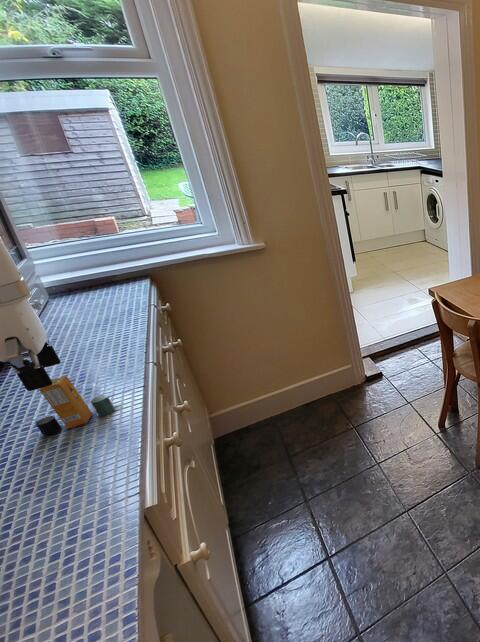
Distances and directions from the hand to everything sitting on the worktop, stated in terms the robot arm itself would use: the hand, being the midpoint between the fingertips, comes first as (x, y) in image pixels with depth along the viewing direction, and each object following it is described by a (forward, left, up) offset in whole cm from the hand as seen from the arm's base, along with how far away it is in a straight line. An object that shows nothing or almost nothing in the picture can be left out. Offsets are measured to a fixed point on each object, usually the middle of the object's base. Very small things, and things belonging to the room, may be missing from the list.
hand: (45, 376), depth 78 cm
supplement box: (0, +1, -12) cm, 12 cm away
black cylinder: (-2, -3, -12) cm, 12 cm away
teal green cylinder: (+3, +4, -12) cm, 13 cm away
